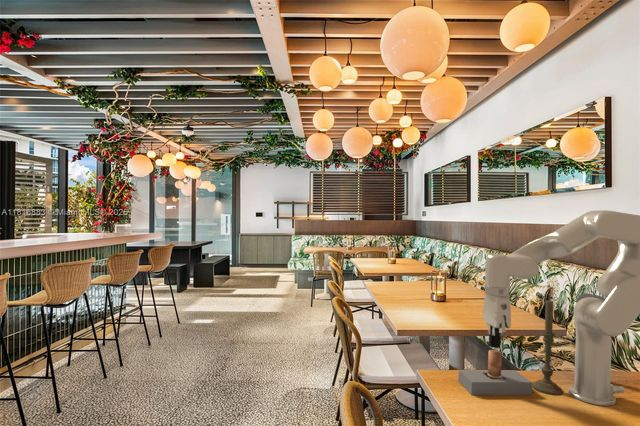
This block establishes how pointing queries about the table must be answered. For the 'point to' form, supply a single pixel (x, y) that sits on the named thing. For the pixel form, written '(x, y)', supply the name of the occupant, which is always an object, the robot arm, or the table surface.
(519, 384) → the seat board
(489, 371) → the dowel
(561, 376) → the table surface
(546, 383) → the candlestick holder
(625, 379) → the table surface
